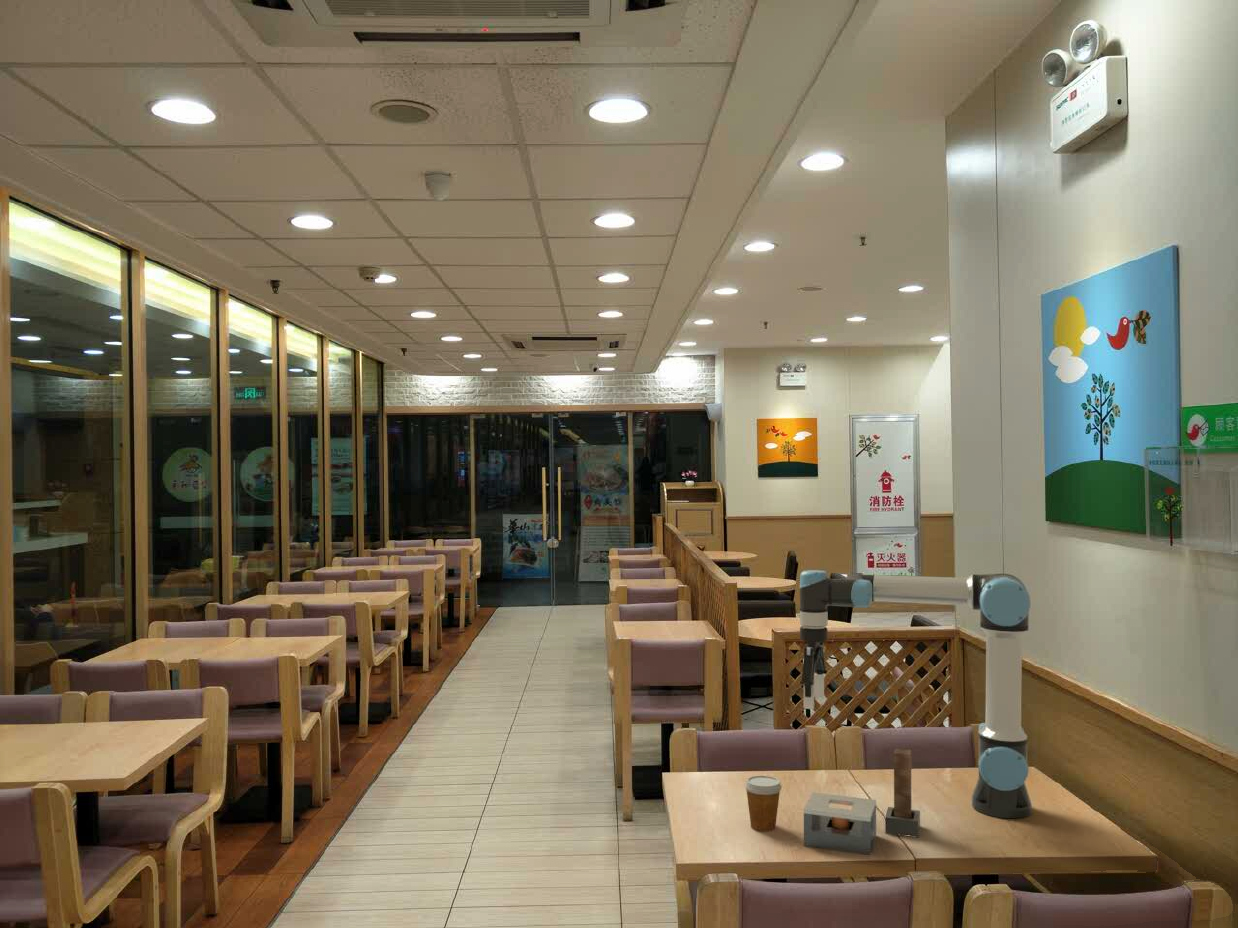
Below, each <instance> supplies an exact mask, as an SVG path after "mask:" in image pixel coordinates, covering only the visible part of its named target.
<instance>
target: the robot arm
mask: <svg viewBox="0 0 1238 928" xmlns="http://www.w3.org/2000/svg"><path fill="white" fill-rule="evenodd" d="M799 577H800V579H799V586H798V588H799V613H798V614H797V616H798V618H799V624H800V625H801V626H800V627H799V639H800V641H802V642H806V644H807V646H806V647H804V648H803V663H802V672H801V680H800V683H799V684H800V685H803V687H802V688H803V709H807V710H815V698H818V699H824V698H825V675H827V674H828V670H826V661H825V652H824V651H825V650H824V642H827V641H828V638H829V637H828V632H829V631H828V627H827V626H828V624H829V622H828V621H829V620H828V618H829V617H828V616H829V615H828V606H829V607H830V606H831V607H845V608H846V607H847V608H848V607H850V608H857V609H859V608H869V607H870V606H872V603H873V602H881V603H882V602H885V603H903V604H904V603H905V604H926V605H927V604H928V605H944V606H945V605H946V606H947V605H950V606H965V607H969V608H970V609H971V610H976V611H979V612H980V615H979V616H980V617H979V618H980V619H979V621H980V622H979V623H980V624H979V627H980V629H981V630H982V631H983V633H985V635H986V638H985V639H986V640H985V641H986V642H985V643H986V645H985V717H984V718H985V722H981V723H980V724H979V725H978V732H977V735H978V761H977V768H978V769H977V770H978V779H977V782H976V785H975V787H974V790H973V792H972V796H971V807H972V808H973V809H974V810H976V812H977V811H978V812H980V813H982V814H984V815H987V816H992V817H997V818H1002V819H1022V818H1026V817H1030V816H1031V815H1032V811H1033V810H1032V808H1033V807H1032V802H1031V797H1030V796H1029V793H1028V789H1027V786H1026V783H1025V782H1026V781H1027V779H1028V775H1029V772H1030V771H1029V770H1030V769H1029V765H1028V735H1027V733H1025V729H1024V728H1023V727H1022V679H1023V678H1022V674H1023V673H1022V672H1023V671H1022V669H1023V668H1022V667H1023V665H1022V664H1023V663H1022V661H1023V660H1022V658H1023V657H1022V656H1023V655H1022V654H1023V636H1024V635H1026V634H1027V633H1028V632H1029V622H1030V621H1029V620H1030V619H1029V617H1030V616H1029V614H1030V613H1029V612H1030V609H1031V596H1030V595H1029V591H1028V589H1027V588H1026V587H1025V586H1026V585H1024V583H1023V581H1021V580H1020V579H1019V578H1018V577H1017V576H1015V575H1013V574H1010V573H1003V572H1002V573H992V574H990V573H988V574H971V575H969V576H968V577H948V576H946V577H943V576H919V575H918V576H914V575H913V576H912V575H889V574H885V575H884V574H863V573H861V572H854V573H851V574H848V575H847V576H846V577H845V578H831V577H829V576H828V572H826V571H825V570H820V569H819V570H818V569H807V570H803V571H802V572H801V573H800V575H799Z"/></svg>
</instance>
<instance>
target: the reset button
mask: <svg viewBox="0 0 1238 928" xmlns="http://www.w3.org/2000/svg"><path fill="white" fill-rule="evenodd" d="M831 828H837V829H844V830H850V819H845V818H837V817H831Z"/></svg>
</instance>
